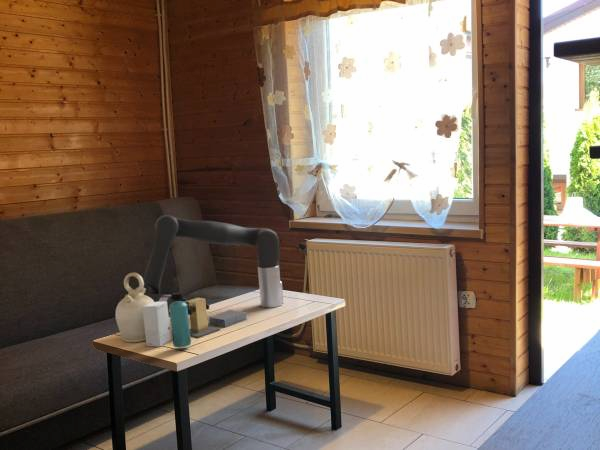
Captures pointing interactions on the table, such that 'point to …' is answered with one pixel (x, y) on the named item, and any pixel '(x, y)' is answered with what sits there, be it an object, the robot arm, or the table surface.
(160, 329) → the skincare box
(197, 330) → the tall wooden pillar
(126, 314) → the jug
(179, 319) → the beverage bottle
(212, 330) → the flat gray metal plate
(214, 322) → the grey metal rectangular block
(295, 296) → the table surface
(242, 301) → the table surface
